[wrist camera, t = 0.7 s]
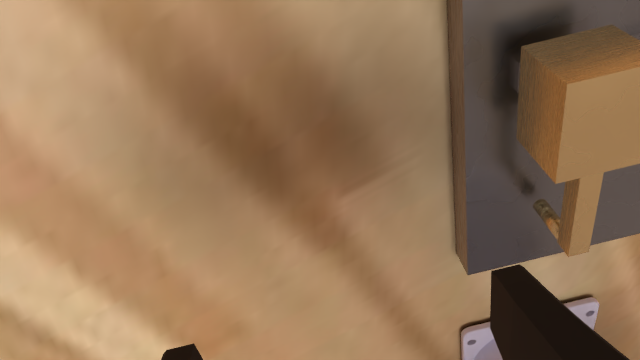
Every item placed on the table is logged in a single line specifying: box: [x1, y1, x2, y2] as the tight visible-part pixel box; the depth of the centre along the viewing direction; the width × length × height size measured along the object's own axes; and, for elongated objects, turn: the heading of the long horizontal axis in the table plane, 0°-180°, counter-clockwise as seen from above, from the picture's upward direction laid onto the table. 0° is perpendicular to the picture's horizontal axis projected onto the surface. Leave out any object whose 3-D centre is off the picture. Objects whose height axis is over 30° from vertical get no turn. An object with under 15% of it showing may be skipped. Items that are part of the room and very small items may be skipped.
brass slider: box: [516, 24, 640, 257], centre depth 18 cm, size 8×3×3 cm, turn 11°
